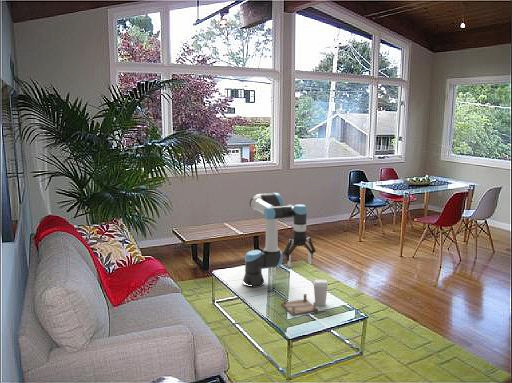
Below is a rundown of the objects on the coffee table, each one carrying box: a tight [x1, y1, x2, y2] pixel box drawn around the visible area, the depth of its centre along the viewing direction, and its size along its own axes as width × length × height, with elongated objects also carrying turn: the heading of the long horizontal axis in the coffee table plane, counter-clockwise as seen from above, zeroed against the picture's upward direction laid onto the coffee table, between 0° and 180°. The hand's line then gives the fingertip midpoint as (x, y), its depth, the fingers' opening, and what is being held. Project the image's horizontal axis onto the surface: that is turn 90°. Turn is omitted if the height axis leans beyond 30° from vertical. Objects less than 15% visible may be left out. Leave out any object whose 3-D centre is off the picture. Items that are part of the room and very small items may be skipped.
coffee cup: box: [312, 278, 329, 307], centre depth 267 cm, size 10×10×15 cm
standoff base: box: [281, 293, 319, 316], centre depth 261 cm, size 17×17×5 cm
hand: (299, 264), depth 257 cm, fingers open, 13 cm apart
